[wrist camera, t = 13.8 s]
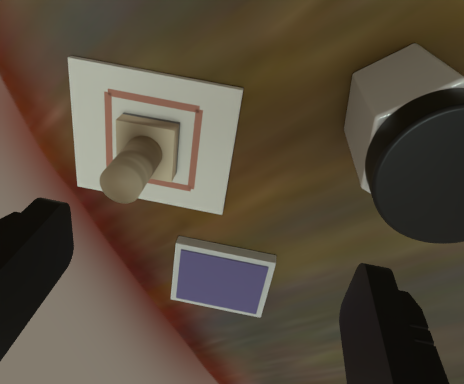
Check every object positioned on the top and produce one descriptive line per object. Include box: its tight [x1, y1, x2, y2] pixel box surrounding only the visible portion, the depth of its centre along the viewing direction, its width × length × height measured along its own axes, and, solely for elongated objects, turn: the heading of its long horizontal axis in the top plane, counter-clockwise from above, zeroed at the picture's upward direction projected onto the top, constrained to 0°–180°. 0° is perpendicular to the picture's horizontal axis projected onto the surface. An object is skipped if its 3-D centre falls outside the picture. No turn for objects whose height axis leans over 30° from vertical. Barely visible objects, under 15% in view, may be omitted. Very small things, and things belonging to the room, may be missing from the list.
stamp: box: [100, 112, 180, 203], centre depth 30 cm, size 5×5×7 cm
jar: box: [344, 43, 464, 243], centre depth 25 cm, size 9×8×12 cm
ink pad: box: [171, 236, 276, 318], centre depth 41 cm, size 10×8×1 cm
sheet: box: [68, 56, 244, 215], centre depth 34 cm, size 14×12×1 cm
